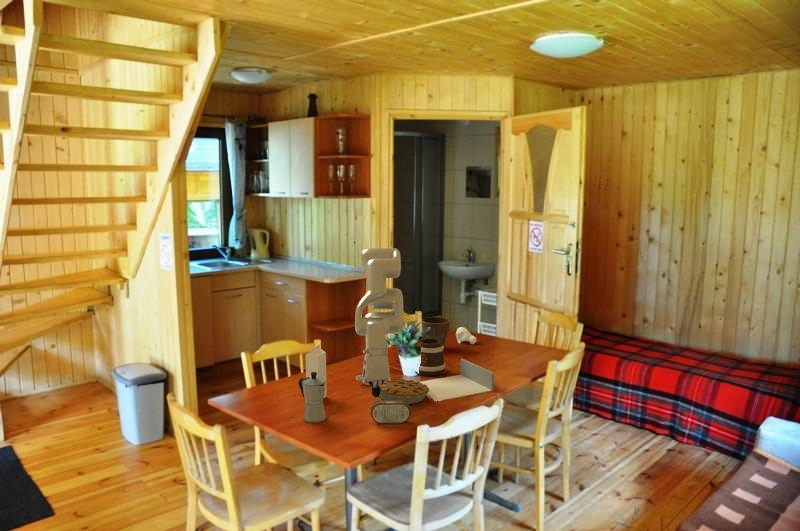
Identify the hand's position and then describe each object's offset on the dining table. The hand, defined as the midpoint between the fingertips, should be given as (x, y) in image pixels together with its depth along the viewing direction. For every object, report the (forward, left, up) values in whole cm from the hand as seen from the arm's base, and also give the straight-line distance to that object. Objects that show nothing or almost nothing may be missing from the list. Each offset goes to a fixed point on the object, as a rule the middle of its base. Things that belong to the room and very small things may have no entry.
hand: (375, 396), depth 247 cm
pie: (+12, +1, -3) cm, 13 cm away
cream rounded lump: (+86, +62, -3) cm, 106 cm away
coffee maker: (-28, -3, -3) cm, 28 cm away
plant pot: (+64, +59, -3) cm, 87 cm away
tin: (-4, -21, -3) cm, 22 cm away
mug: (+40, +28, -3) cm, 49 cm away
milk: (-19, +17, -3) cm, 26 cm away
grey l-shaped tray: (+36, +2, -3) cm, 37 cm away
